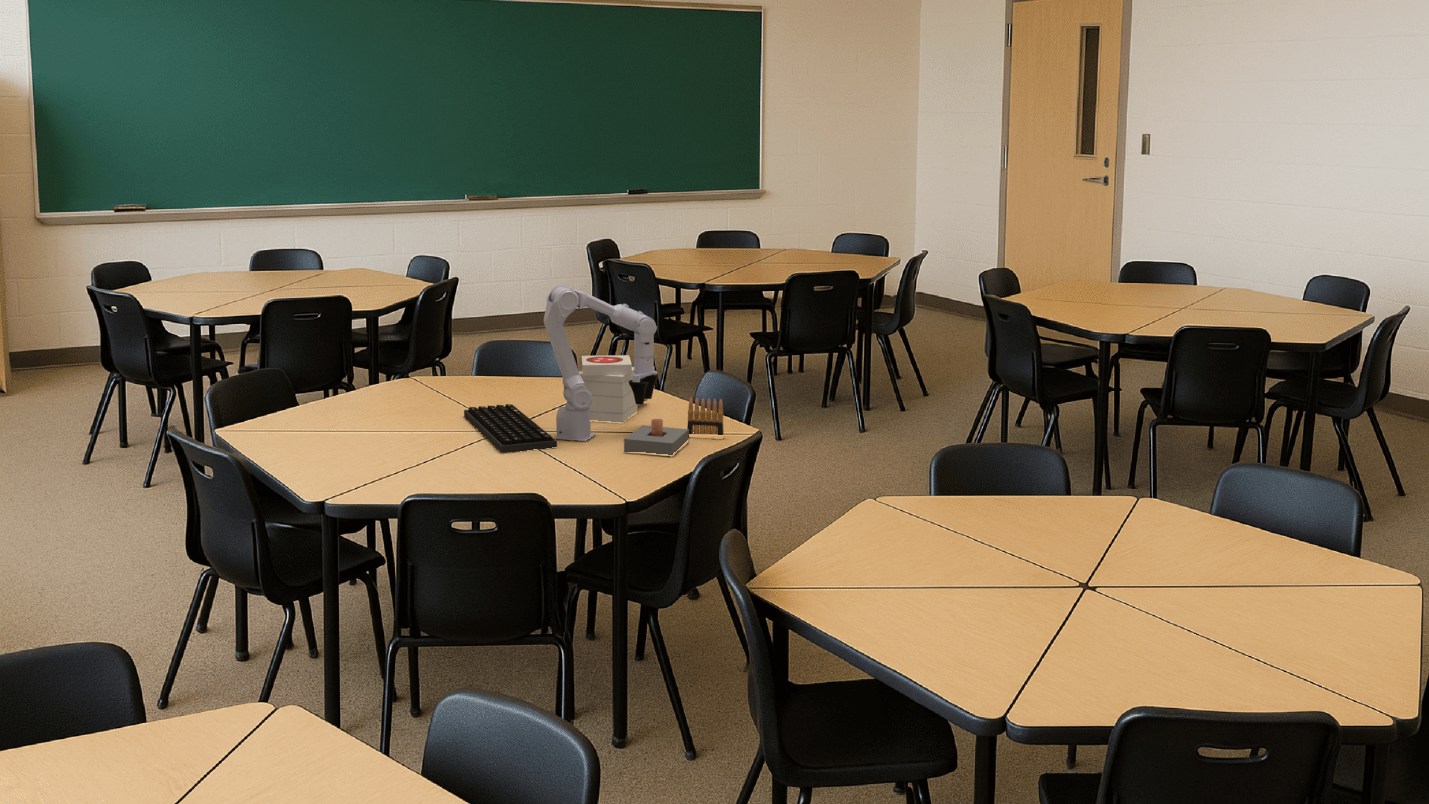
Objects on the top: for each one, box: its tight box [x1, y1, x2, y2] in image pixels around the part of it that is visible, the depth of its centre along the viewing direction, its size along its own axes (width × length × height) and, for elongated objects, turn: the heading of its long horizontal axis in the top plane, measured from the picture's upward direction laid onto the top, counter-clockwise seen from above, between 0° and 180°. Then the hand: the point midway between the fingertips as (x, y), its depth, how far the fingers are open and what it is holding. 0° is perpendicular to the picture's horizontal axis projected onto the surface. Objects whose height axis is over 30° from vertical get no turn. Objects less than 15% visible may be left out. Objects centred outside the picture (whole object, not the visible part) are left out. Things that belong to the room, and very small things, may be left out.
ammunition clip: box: [686, 397, 724, 435], centre depth 339 cm, size 11×2×12 cm, turn 82°
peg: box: [650, 418, 664, 437], centre depth 328 cm, size 3×3×8 cm
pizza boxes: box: [579, 354, 649, 423], centre depth 366 cm, size 19×30×18 cm, turn 167°
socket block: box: [623, 425, 690, 455], centre depth 328 cm, size 14×16×4 cm
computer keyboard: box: [463, 403, 558, 454], centre depth 343 cm, size 45×16×4 cm, turn 25°
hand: (643, 401), depth 343 cm, fingers open, 7 cm apart
